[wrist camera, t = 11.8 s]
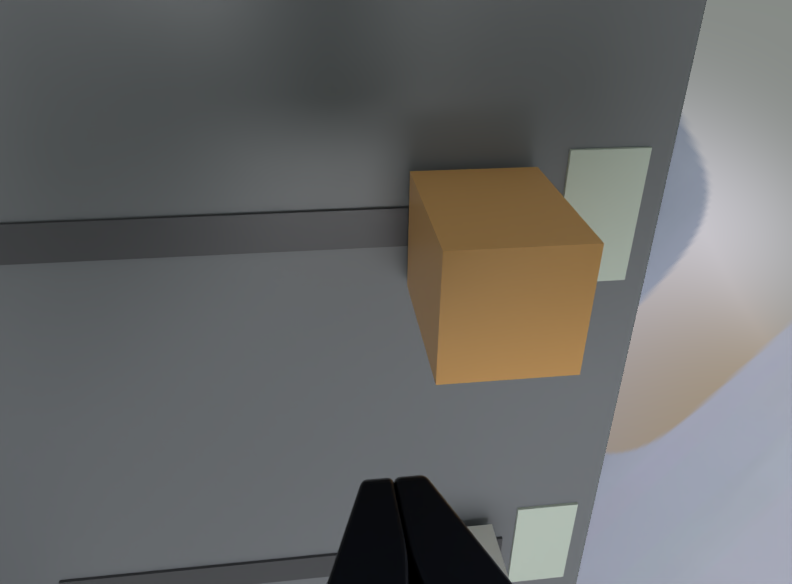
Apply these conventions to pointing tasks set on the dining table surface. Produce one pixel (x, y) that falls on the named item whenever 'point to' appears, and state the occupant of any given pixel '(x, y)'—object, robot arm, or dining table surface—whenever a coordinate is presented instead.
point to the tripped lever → (499, 274)
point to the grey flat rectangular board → (298, 271)
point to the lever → (489, 543)
